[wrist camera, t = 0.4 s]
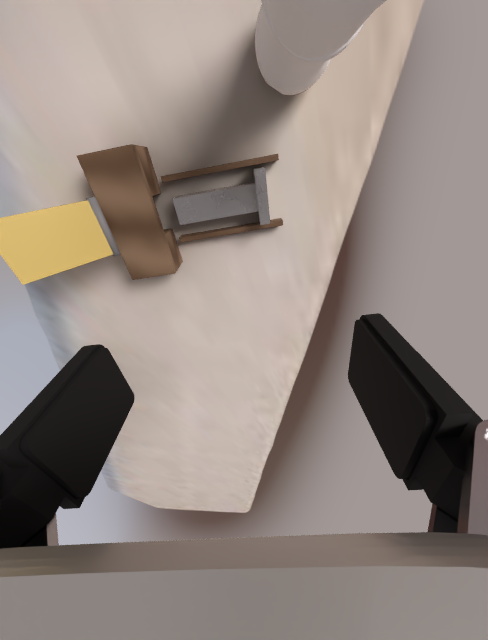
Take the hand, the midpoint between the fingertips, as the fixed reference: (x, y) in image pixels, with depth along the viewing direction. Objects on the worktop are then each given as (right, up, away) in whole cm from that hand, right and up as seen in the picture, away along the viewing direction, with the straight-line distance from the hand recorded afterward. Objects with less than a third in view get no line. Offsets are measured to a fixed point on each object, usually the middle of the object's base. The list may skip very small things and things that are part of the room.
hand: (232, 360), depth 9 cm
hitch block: (-5, +17, +22) cm, 28 cm away
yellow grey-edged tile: (-19, +10, +16) cm, 27 cm away
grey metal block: (-3, +17, +22) cm, 28 cm away
